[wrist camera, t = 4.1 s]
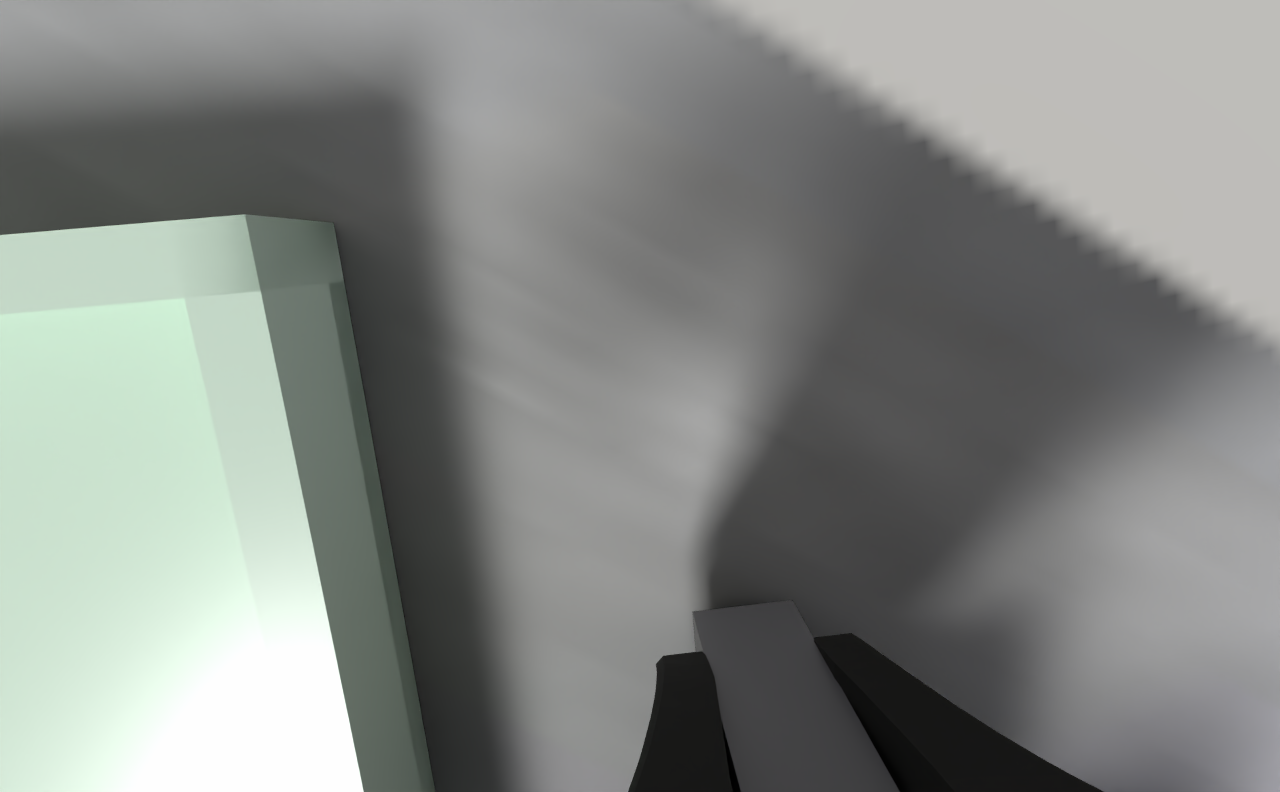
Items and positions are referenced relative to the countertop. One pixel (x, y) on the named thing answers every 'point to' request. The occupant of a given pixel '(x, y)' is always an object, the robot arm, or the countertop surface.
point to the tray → (194, 520)
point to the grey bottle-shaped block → (784, 705)
